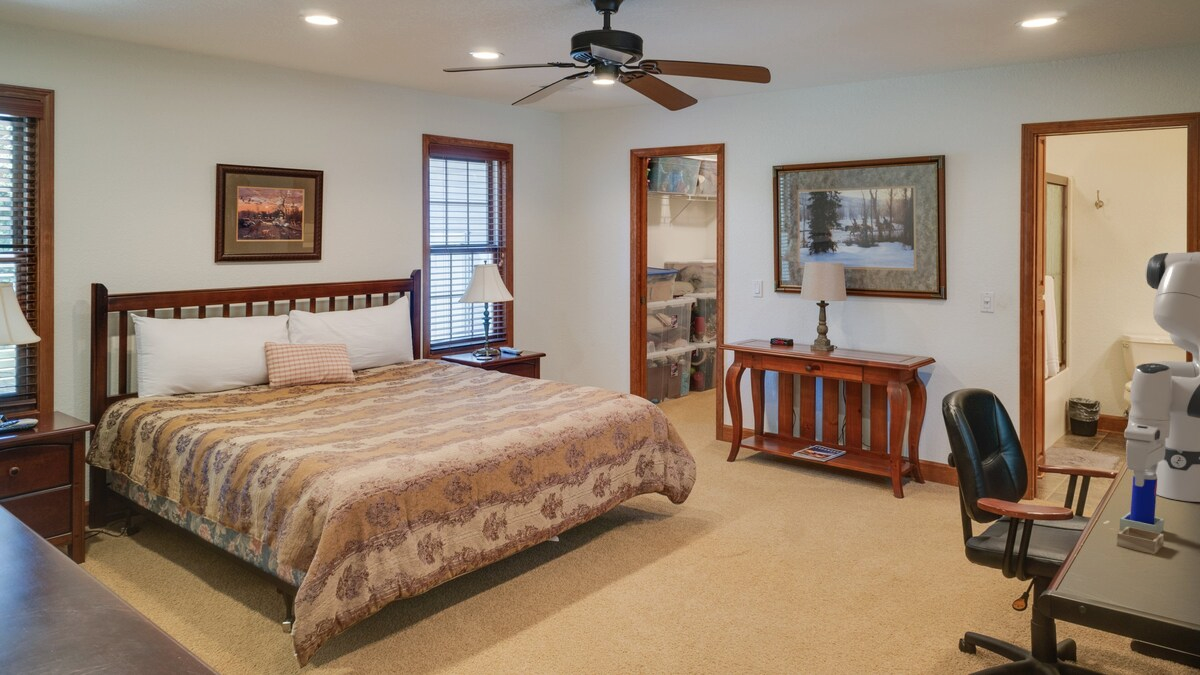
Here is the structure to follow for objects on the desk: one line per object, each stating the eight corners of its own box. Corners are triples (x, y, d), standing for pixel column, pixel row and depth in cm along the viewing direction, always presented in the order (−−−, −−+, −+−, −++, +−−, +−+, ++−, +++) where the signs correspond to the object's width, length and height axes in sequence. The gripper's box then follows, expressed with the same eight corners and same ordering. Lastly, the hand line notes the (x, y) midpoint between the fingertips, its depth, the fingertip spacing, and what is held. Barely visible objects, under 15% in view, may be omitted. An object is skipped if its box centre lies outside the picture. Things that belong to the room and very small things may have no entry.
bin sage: (1128, 523, 220) (1129, 512, 220) (1163, 530, 214) (1164, 519, 214) (1119, 530, 215) (1120, 518, 214) (1154, 537, 209) (1155, 526, 209)
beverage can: (1157, 534, 212) (1161, 476, 210) (1134, 533, 213) (1138, 475, 211) (1148, 527, 217) (1152, 470, 215) (1126, 526, 218) (1130, 469, 216)
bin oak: (1126, 537, 209) (1127, 526, 209) (1163, 546, 203) (1164, 534, 203) (1116, 545, 204) (1117, 533, 203) (1154, 554, 198) (1154, 541, 198)
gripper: (1145, 421, 221) (1142, 473, 222) (1122, 432, 207) (1118, 487, 208) (1174, 425, 216) (1170, 477, 218) (1152, 435, 202) (1148, 492, 204)
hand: (1145, 482), depth 213 cm, fingers open, 8 cm apart
